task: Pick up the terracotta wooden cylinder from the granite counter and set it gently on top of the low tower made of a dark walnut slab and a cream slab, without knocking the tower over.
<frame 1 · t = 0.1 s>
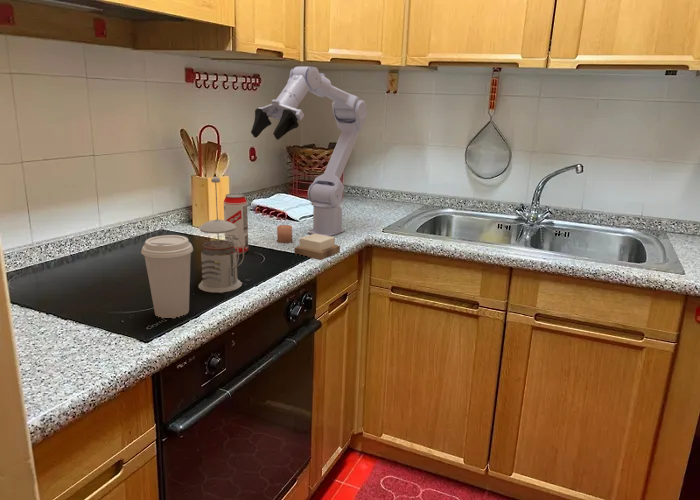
hand: (264, 135, 139), 32 cm above the worktop, tool tilted 50°, fingers open, 7 cm apart
french press: (223, 286, 123), on the worktop
terracotta cylinder: (284, 241, 160), on the worktop
walnut base slab: (317, 255, 150), on the worktop, touching cream slab
beer can: (237, 252, 148), on the worktop
coffee cup: (172, 313, 108), on the worktop
cream slab: (317, 246, 149), point 2 cm above the worktop, touching walnut base slab
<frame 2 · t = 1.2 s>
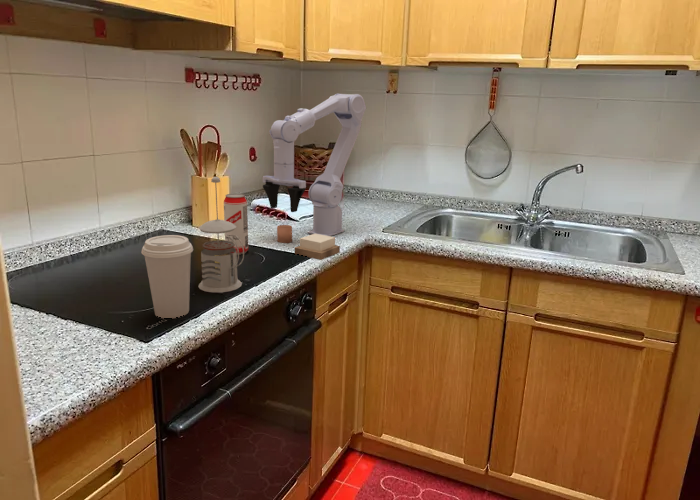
hand: (283, 209, 157), 10 cm above the worktop, tool pointing down, fingers open, 7 cm apart
nothing on the worktop moved.
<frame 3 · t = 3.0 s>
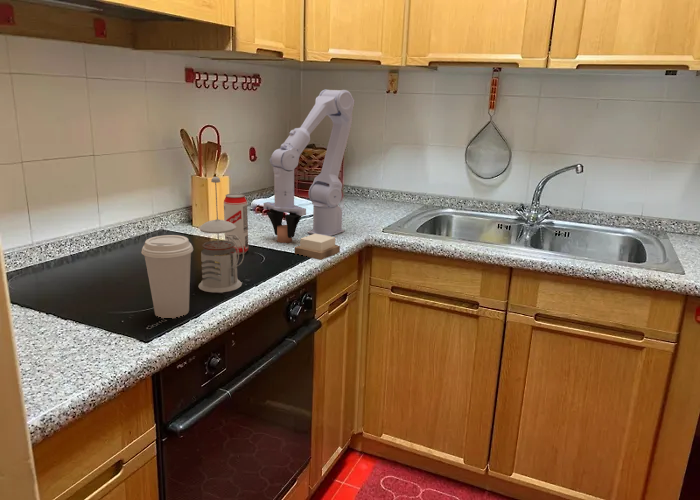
hand: (284, 235, 160), 2 cm above the worktop, tool pointing down, fingers closed on terracotta cylinder, 4 cm apart
terracotta cylinder: (284, 241, 160), on the worktop, touching gripper
everything else where it was.
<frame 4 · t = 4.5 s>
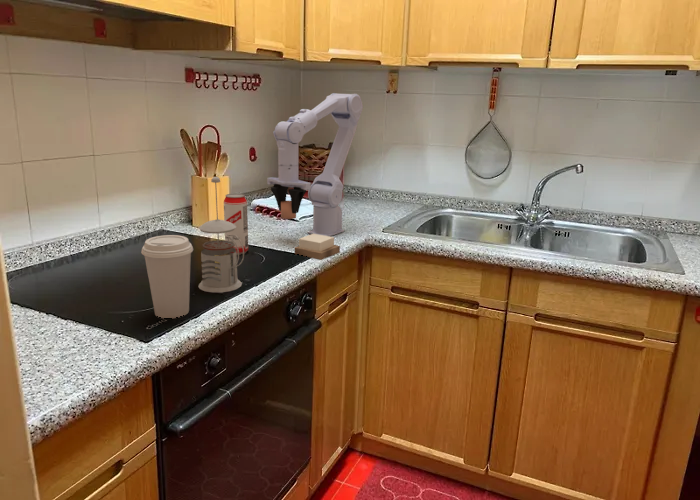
hand: (288, 211, 156), 9 cm above the worktop, tool pointing down, fingers closed on terracotta cylinder, 4 cm apart
terracotta cylinder: (288, 217, 157), point 8 cm above the worktop, touching gripper
everything else where it was.
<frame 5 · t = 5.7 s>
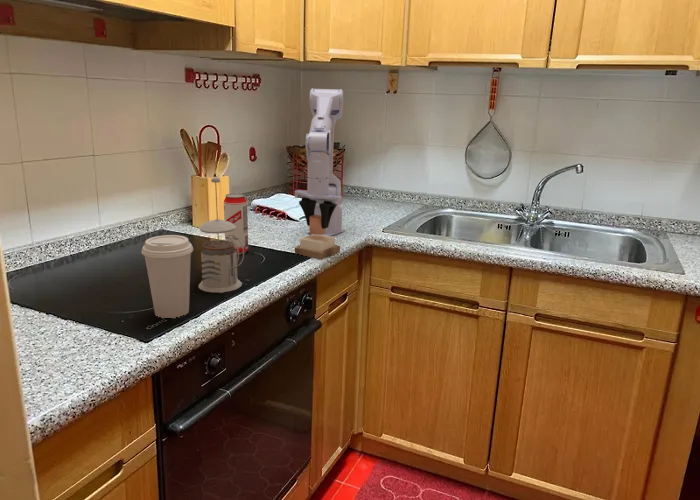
hand: (317, 226, 147), 8 cm above the worktop, tool pointing down, fingers closed on terracotta cylinder, 4 cm apart
terracotta cylinder: (317, 232, 148), point 6 cm above the worktop, touching gripper
everything else where it was.
when the fingers open (8 cm above the worktop, at t = 6.5 s): terracotta cylinder drops 2 cm, resting on cream slab.
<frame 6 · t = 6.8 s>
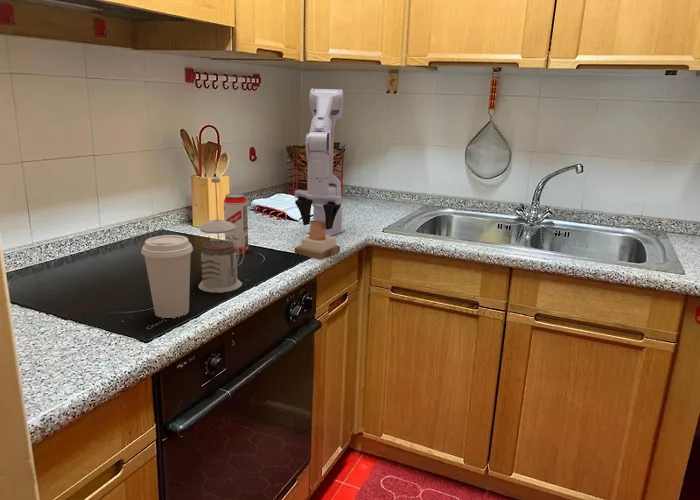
hand: (317, 226, 147), 8 cm above the worktop, tool pointing down, fingers open, 7 cm apart
terracotta cylinder: (317, 238, 148), point 4 cm above the worktop, touching cream slab
cream slab: (318, 246, 149), point 2 cm above the worktop, touching terracotta cylinder, walnut base slab
everything else where it was.
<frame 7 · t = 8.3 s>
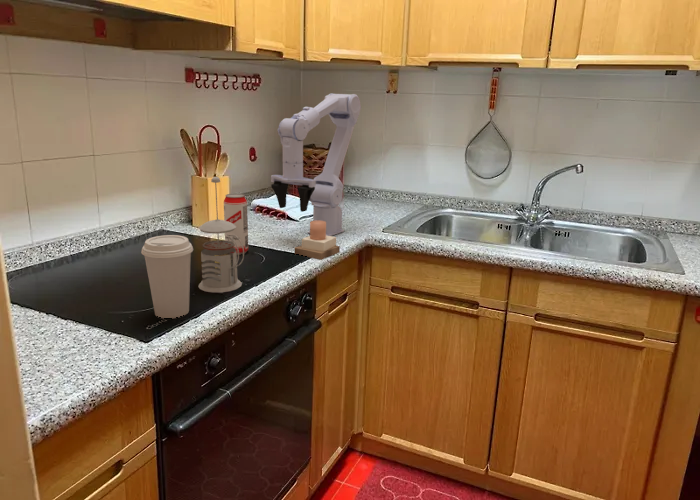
hand: (293, 209, 155), 10 cm above the worktop, tool pointing down, fingers open, 7 cm apart
nothing on the worktop moved.
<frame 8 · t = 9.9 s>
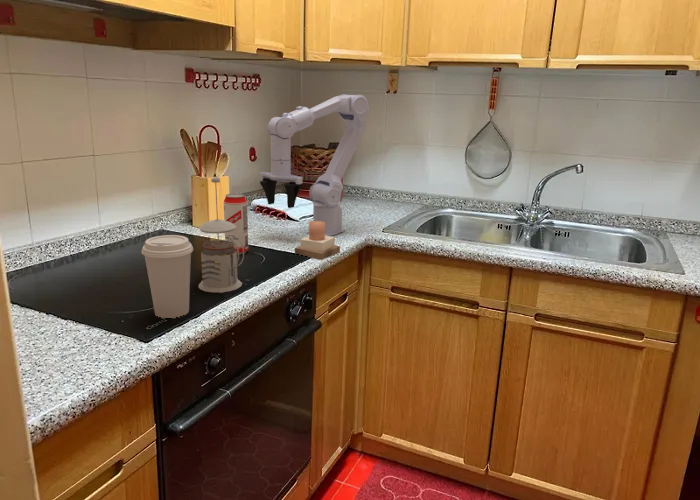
hand: (280, 205, 159), 10 cm above the worktop, tool pointing down, fingers open, 7 cm apart
nothing on the worktop moved.
at the end: terracotta cylinder 0.2 cm off-centre on the cream slab, point 2.5 cm above the cream slab's base; cream slab 0.3 cm off-centre on the walnut base slab, point 2.5 cm above the walnut base slab's base; walnut base slab moved 0.8 cm from its start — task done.
